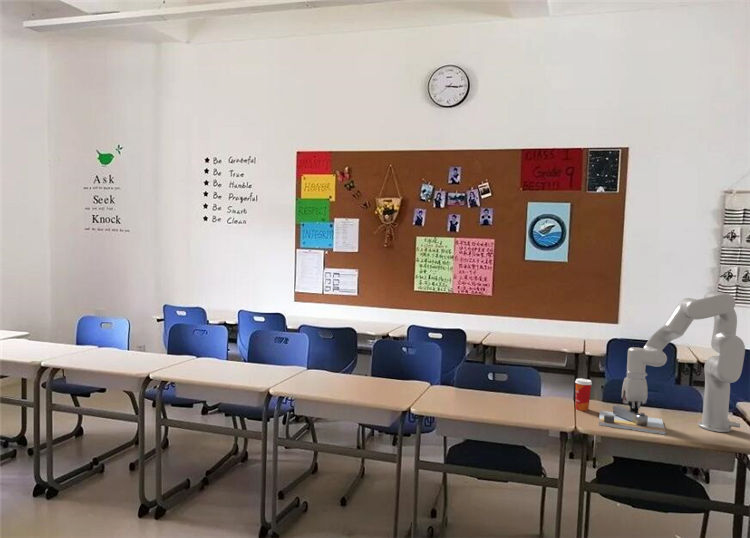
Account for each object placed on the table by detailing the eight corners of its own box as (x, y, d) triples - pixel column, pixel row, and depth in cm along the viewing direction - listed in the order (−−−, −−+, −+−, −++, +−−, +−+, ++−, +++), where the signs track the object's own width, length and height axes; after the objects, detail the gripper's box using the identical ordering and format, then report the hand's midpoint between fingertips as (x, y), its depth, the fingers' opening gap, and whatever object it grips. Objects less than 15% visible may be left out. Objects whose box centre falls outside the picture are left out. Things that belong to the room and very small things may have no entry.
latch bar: (649, 425, 252) (650, 414, 252) (641, 425, 251) (642, 415, 251) (619, 412, 269) (619, 403, 269) (611, 413, 267) (611, 403, 267)
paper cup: (575, 406, 284) (577, 377, 284) (591, 409, 280) (593, 380, 280) (571, 409, 278) (573, 380, 277) (588, 412, 274) (590, 383, 273)
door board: (661, 421, 264) (662, 412, 264) (665, 434, 246) (665, 425, 246) (599, 413, 274) (600, 404, 274) (598, 424, 256) (599, 415, 255)
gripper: (646, 373, 267) (644, 413, 267) (615, 373, 264) (613, 414, 265) (656, 377, 259) (654, 418, 260) (624, 377, 257) (623, 419, 258)
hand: (633, 416), depth 263 cm, fingers closed
